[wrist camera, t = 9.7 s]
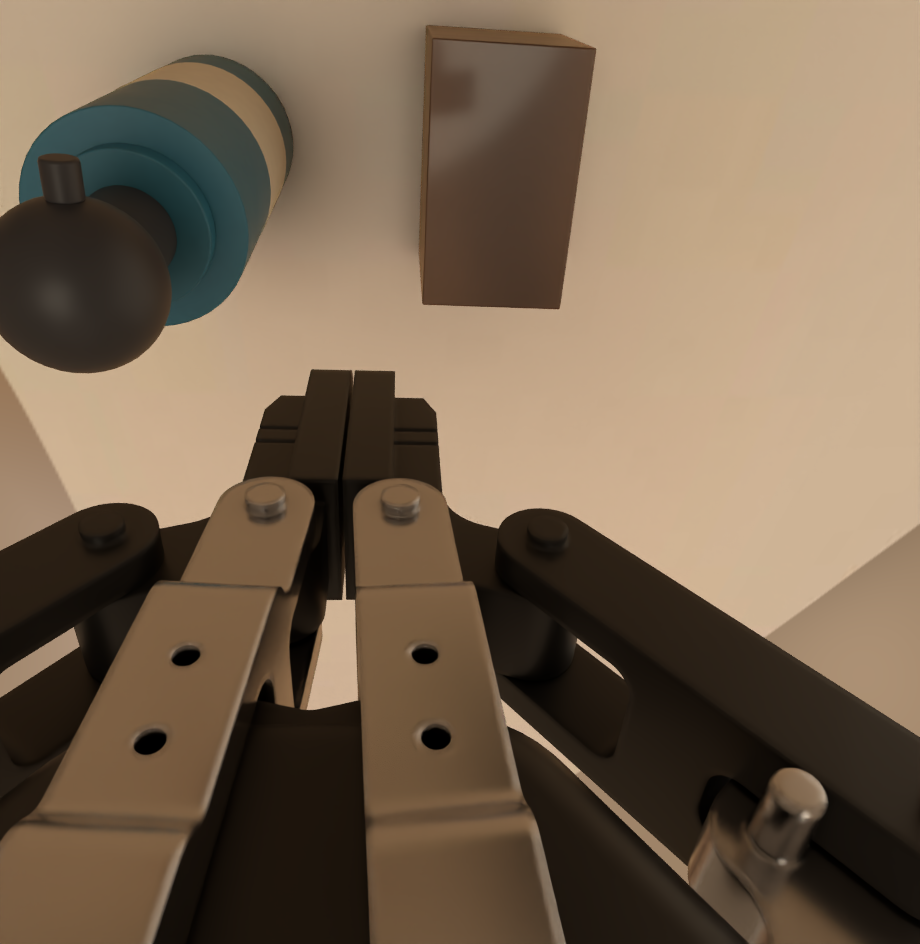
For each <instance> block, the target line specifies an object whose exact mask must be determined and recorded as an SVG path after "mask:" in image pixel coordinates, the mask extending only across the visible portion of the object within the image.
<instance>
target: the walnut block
mask: <svg viewBox="0 0 920 944" xmlns="http://www.w3.org/2000/svg"><path fill="white" fill-rule="evenodd" d="M595 55H596V49H595V48H593V47H591V46H589V45H586V44H584V43H581V42H579V41H576V40H574V39H572V38H569V37H567V36H564V35H562V34H552V33H537V32H522V31H507V30H492V29H477V28H463V27H448V26H433V25H427V26H426V43H425V74H424V105H423V137H422V168H421V199H420V230H419V263H420V277H421V292H422V303H423V304H424V305H451V306H480V307H509V308H538V309H559V308H560V303H561V296H562V289H563V282H564V275H565V268H566V261H567V254H568V246H569V239H570V232H571V225H572V218H573V211H574V204H575V197H576V190H577V183H578V175H579V168H580V161H581V154H582V147H583V140H584V133H585V126H586V119H587V112H588V104H589V97H590V90H591V83H592V76H593V69H594V62H595Z"/></svg>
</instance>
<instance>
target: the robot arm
mask: <svg viewBox="0 0 920 944" xmlns="http://www.w3.org/2000/svg"><path fill="white" fill-rule="evenodd" d="M344 574H346V600H355V612H356V653H357V682H358V701H354V702H349V703H345V704H340V705H336V706H331V707H327V708H322V709H317V710H307V706H308V701H309V697H310V692H311V688H312V683H313V679H314V674H315V670H316V665H317V661H318V656H319V652H320V647H321V643H322V621H323V619H324V616H325V610H326V601H327V600H342V595H343V585H344ZM73 627H74V629H75V632H76V636H77V639H78V642H79V645H80V647H78V648H77V649H75V650H74V651H72V652H71V653H69V654H68V655H66V656H64V657H63V658H61V659H60V660H58V661H57V662H55V663H54V664H52V665H51V666H49V667H47V668H46V669H44V670H43V671H41V672H40V673H38V674H37V675H35V676H34V677H32V678H30V679H29V680H27V681H25V682H24V683H23V684H21V685H19V686H18V687H16V688H15V689H13V690H12V691H10V692H8V693H7V694H5V695H4V696H2V697H1V698H0V944H920V737H918V736H917V735H915V734H914V733H912V732H911V731H909V730H908V729H906V728H904V727H903V726H901V725H900V724H898V723H896V722H895V721H893V720H892V719H890V718H889V717H887V716H886V715H884V714H883V713H881V712H879V711H878V710H876V709H875V708H873V707H872V706H870V705H869V704H867V703H865V702H864V701H862V700H861V699H859V698H858V697H856V696H854V695H853V694H851V693H850V692H848V691H847V690H845V689H843V688H842V687H840V686H838V685H837V684H836V683H834V682H832V681H831V680H829V679H827V678H826V677H824V676H823V675H822V674H820V673H818V672H817V671H815V670H814V669H812V668H810V667H809V666H807V665H806V664H804V663H803V662H801V661H800V660H798V659H796V658H795V657H793V656H792V655H790V654H789V653H787V652H785V651H784V650H782V649H781V648H779V647H778V646H776V645H775V644H773V643H771V642H770V641H768V640H767V639H765V638H764V637H762V636H760V635H759V634H757V633H756V632H754V631H753V630H751V629H749V628H748V627H746V626H745V625H743V624H742V623H740V622H738V621H737V620H735V619H734V618H732V617H731V616H729V615H728V614H726V613H724V612H723V611H721V610H720V609H718V608H717V607H715V606H713V605H712V604H710V603H709V602H707V601H706V600H704V599H702V598H701V597H699V596H698V595H696V594H695V593H693V592H691V591H690V590H688V589H687V588H685V587H684V586H682V585H681V584H679V583H677V582H676V581H674V580H673V579H671V578H670V577H668V576H666V575H665V574H663V573H662V572H660V571H659V570H657V569H655V568H654V567H652V566H651V565H649V564H648V563H646V562H644V561H643V560H641V559H640V558H638V557H637V556H635V555H634V554H632V553H630V552H629V551H627V550H626V549H624V548H623V547H621V546H619V545H618V544H616V543H615V542H613V541H612V540H610V539H608V538H607V537H605V536H604V535H602V534H601V533H599V532H598V531H596V530H594V529H593V528H591V527H590V526H588V525H587V524H585V523H583V522H582V521H580V520H579V519H577V518H575V517H573V516H571V515H569V514H566V513H564V512H560V511H557V510H551V509H542V508H539V509H527V510H522V511H518V512H516V513H514V514H512V515H510V516H508V517H507V518H506V519H505V520H504V521H503V522H502V523H501V525H500V527H499V529H497V528H493V527H488V526H484V525H480V524H477V523H474V522H471V521H468V520H466V519H464V518H462V517H460V516H459V515H457V514H456V513H455V512H453V511H452V510H451V509H450V508H449V507H448V505H447V502H446V499H445V497H444V496H443V494H442V485H441V471H440V458H439V445H438V432H437V418H436V412H435V411H434V410H433V409H432V408H431V407H430V405H429V404H428V403H427V402H426V401H425V400H424V399H423V398H395V371H359V370H355V375H354V384H353V374H352V370H314V369H312V370H311V372H310V377H309V381H308V385H307V390H306V394H305V396H280V397H279V398H278V399H277V400H275V401H274V402H273V403H272V404H271V405H270V406H269V407H267V408H266V409H265V411H264V414H263V418H262V421H261V424H260V429H259V431H258V434H257V437H256V443H255V444H254V447H253V450H252V453H251V457H250V460H249V463H248V466H247V470H246V473H245V476H244V479H243V482H241V483H238V484H236V485H234V486H232V487H231V488H229V489H228V490H227V491H225V492H224V493H223V494H222V495H221V497H220V498H219V500H218V502H217V504H216V506H215V508H214V510H213V512H212V515H211V517H208V518H206V519H203V520H200V521H196V522H192V523H187V524H182V525H177V526H172V527H167V528H162V529H160V528H159V523H158V520H157V518H156V516H155V515H154V514H153V513H152V512H151V511H149V510H148V509H146V508H144V507H141V506H138V505H134V504H128V503H110V504H103V505H97V506H93V507H90V508H87V509H84V510H81V511H79V512H76V513H74V514H72V515H71V516H68V517H67V518H64V519H62V520H60V521H58V522H56V523H54V524H52V525H51V526H49V527H46V528H45V529H43V530H41V531H39V532H37V533H35V534H33V535H31V536H29V537H27V538H25V539H23V540H21V541H19V542H17V543H15V544H13V545H11V546H9V547H7V548H5V549H3V550H1V551H0V674H1V673H2V672H3V671H4V670H5V669H7V668H8V667H10V666H11V665H13V664H15V663H16V662H18V661H19V660H21V659H23V658H24V657H26V656H28V655H29V654H31V653H32V652H34V651H35V650H37V649H39V648H40V647H42V646H44V645H45V644H47V643H48V642H50V641H52V640H53V639H55V638H57V637H58V636H60V635H61V634H63V633H65V632H66V631H68V630H69V629H71V628H73ZM577 638H578V639H579V640H581V641H582V642H583V643H585V644H586V645H587V646H588V647H590V648H591V649H592V650H594V651H595V652H596V653H598V654H599V655H600V656H602V657H603V658H604V659H605V660H607V661H608V662H609V663H611V664H612V665H613V666H614V667H615V668H616V669H617V670H618V671H619V672H620V674H621V675H622V676H623V678H624V679H622V678H621V677H620V676H619V675H617V674H616V673H615V672H613V671H612V670H611V669H609V668H608V667H607V666H606V665H604V664H603V663H602V662H600V661H599V660H598V659H596V658H595V657H594V656H593V655H591V654H590V653H589V652H587V651H586V650H585V649H583V648H582V647H581V646H580V645H578V644H577V643H576V642H577ZM501 699H502V700H503V701H504V702H505V703H506V704H507V705H509V706H510V707H511V708H512V709H513V710H514V711H515V712H516V713H517V714H519V715H520V716H521V717H522V718H523V719H524V720H525V721H526V722H527V723H529V724H530V725H531V726H532V727H533V728H534V729H535V730H536V731H538V732H539V733H540V734H541V735H542V736H543V737H544V738H545V739H546V740H548V741H549V742H550V743H551V744H552V745H553V746H554V747H555V748H556V749H558V750H559V751H560V752H561V753H562V754H563V755H564V756H565V757H566V758H568V759H569V760H570V761H571V762H572V763H573V764H574V765H575V766H576V767H578V768H579V769H580V770H581V771H582V772H583V773H584V774H585V775H586V776H588V777H589V778H590V779H591V780H592V781H593V782H594V783H595V784H596V785H598V786H599V787H600V788H601V789H602V790H603V791H604V792H605V793H607V794H608V795H609V796H610V797H611V798H612V799H613V800H614V801H616V802H617V803H618V804H619V805H620V806H621V807H622V808H623V809H624V810H625V811H627V812H628V813H629V814H630V815H631V816H632V817H633V818H634V819H635V820H637V821H638V822H639V823H640V824H641V825H642V826H643V827H644V828H645V829H647V830H648V831H649V832H650V833H651V834H652V835H653V836H654V837H655V838H657V839H658V840H659V841H660V842H661V843H662V844H663V845H664V846H666V847H667V848H668V849H669V850H670V851H671V852H672V853H673V854H674V855H676V856H677V857H678V858H679V859H680V860H681V861H682V862H683V863H684V864H686V865H687V866H688V880H689V885H688V884H687V883H686V882H685V881H684V880H683V879H682V878H681V877H680V876H679V875H678V874H677V873H676V872H675V871H674V870H673V869H672V868H671V867H670V866H669V865H668V864H666V862H665V861H663V859H661V858H660V857H659V856H658V855H657V854H656V853H655V852H654V851H653V850H652V849H651V848H650V847H649V846H648V845H647V844H646V843H645V842H644V841H643V840H642V839H641V838H640V837H639V836H638V835H637V834H636V833H635V832H634V831H633V830H632V829H630V827H628V826H627V825H626V824H625V823H624V822H623V821H622V820H621V819H620V818H619V817H618V816H617V815H616V814H615V813H614V812H613V811H612V810H611V809H610V808H609V807H608V806H607V805H606V804H605V803H604V802H603V801H602V800H601V799H599V798H598V796H596V795H595V794H594V793H593V792H592V791H591V790H590V789H589V788H588V787H587V786H586V785H585V784H584V783H583V782H582V781H581V780H580V779H579V778H578V777H577V776H576V775H575V774H574V773H573V772H572V771H571V770H570V769H569V768H568V767H567V766H565V765H564V764H563V763H562V762H561V761H560V760H559V759H558V758H557V757H556V756H555V755H554V754H552V753H551V752H550V751H549V750H547V749H546V748H545V747H543V746H542V745H541V744H539V743H538V742H536V741H535V740H533V739H531V738H530V737H528V736H526V735H524V734H523V733H521V732H519V731H517V730H515V729H512V728H510V727H508V726H507V725H506V720H505V716H504V711H503V707H502V703H501Z"/></svg>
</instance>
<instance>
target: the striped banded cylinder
mask: <svg viewBox="0 0 920 944" xmlns="http://www.w3.org/2000/svg"><path fill="white" fill-rule="evenodd" d="M292 156H293V138H292V132H291V127H290V124H289V121H288V117H287V115H286V113H285V110H284V108H283V106H282V104H281V103H280V101H279V99H278V97H277V96H276V95H275V93H274V92H273V91H272V89H271V88H270V87H269V86H268V85H267V84H266V83H265V82H264V81H263V79H261V78H260V77H259V76H258V75H257V74H255V73H254V72H253V71H251V70H250V69H248V68H247V67H245V66H243V65H241V64H239V63H237V62H235V61H233V60H230V59H227V58H224V57H219V56H214V55H194V56H189V57H185V58H182V59H179V60H177V61H174V62H172V63H170V64H168V65H166V66H164V67H161V68H159V69H157V70H154V71H152V72H150V73H148V74H146V75H144V76H142V77H140V78H138V79H136V80H134V81H132V82H130V83H128V84H126V85H124V86H121V87H119V88H118V89H116V90H115V91H113V92H111V93H109V94H107V95H105V96H103V97H100V98H98V99H96V100H94V101H92V102H90V103H88V104H86V105H84V106H82V107H80V108H78V109H76V110H74V111H72V112H70V113H68V114H66V115H64V116H62V117H60V118H59V119H57V120H56V121H54V122H53V123H51V124H50V125H49V126H48V127H47V128H46V129H45V130H44V131H42V132H41V134H40V135H39V136H38V137H37V139H36V140H35V141H34V143H33V144H32V146H31V148H30V150H29V152H28V153H27V155H26V158H25V161H24V164H23V167H22V170H21V176H20V182H19V202H20V204H19V205H17V206H15V207H14V208H12V209H10V210H9V211H7V212H6V213H5V214H4V215H3V216H1V217H0V335H1V336H2V337H3V338H4V339H5V340H6V341H7V342H8V343H9V344H10V345H11V346H13V347H14V348H15V349H16V350H17V351H19V352H20V353H22V354H23V355H25V356H26V357H28V358H30V359H31V360H33V361H35V362H38V363H40V364H42V365H44V366H47V367H50V368H54V369H57V370H60V371H66V372H72V373H96V372H103V371H107V370H112V369H115V368H118V367H120V366H123V365H125V364H127V363H129V362H131V361H133V360H134V359H136V358H138V357H139V356H140V355H141V354H143V353H144V352H145V351H146V350H147V349H149V348H150V347H151V345H152V344H153V343H154V342H155V341H156V339H157V338H158V337H159V335H160V333H161V332H162V330H163V328H164V326H169V325H177V324H181V323H186V322H189V321H192V320H194V319H197V318H200V317H202V316H203V315H205V314H207V313H209V312H211V311H212V310H213V309H215V308H216V307H217V306H219V305H220V304H221V303H222V302H223V301H224V300H225V299H226V298H227V297H228V296H229V295H230V293H231V292H232V291H233V289H234V288H235V286H236V285H237V283H238V281H239V279H240V277H241V275H242V273H243V271H244V269H245V267H246V264H247V262H248V260H249V258H250V256H251V254H252V252H253V249H254V247H255V245H256V243H257V241H258V239H259V236H260V235H261V233H262V231H263V229H264V227H265V225H266V223H267V221H268V218H269V216H270V214H271V212H272V210H273V208H274V205H275V203H276V201H277V199H278V197H279V195H280V192H281V189H282V187H283V185H284V183H285V181H286V178H287V176H288V173H289V170H290V167H291V162H292Z"/></svg>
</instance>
